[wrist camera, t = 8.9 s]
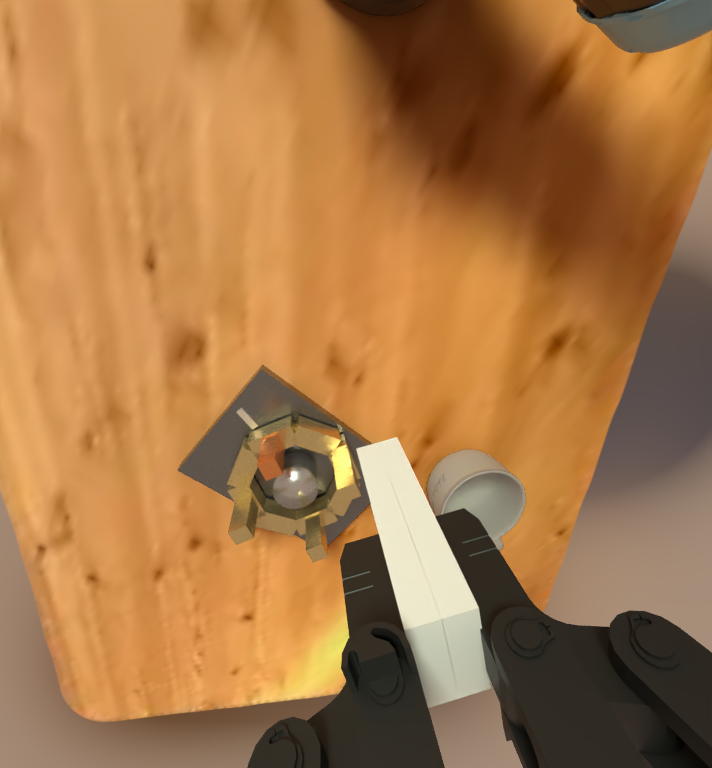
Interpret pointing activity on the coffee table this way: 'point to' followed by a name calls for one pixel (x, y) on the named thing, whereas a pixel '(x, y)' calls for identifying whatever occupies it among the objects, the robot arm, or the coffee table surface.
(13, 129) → the coffee table surface
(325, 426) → the ring nut
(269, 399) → the housing
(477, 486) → the teacup
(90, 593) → the coffee table surface
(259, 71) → the coffee table surface
